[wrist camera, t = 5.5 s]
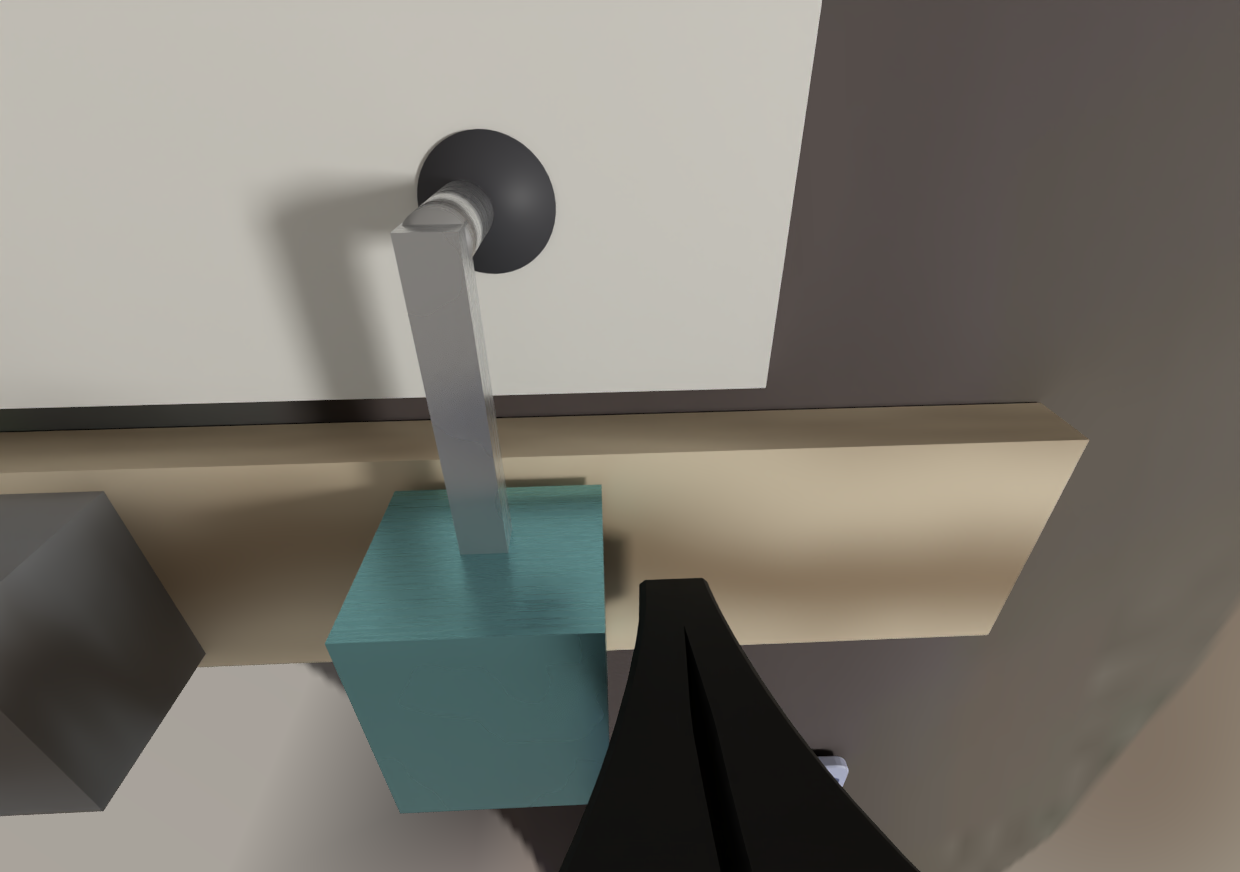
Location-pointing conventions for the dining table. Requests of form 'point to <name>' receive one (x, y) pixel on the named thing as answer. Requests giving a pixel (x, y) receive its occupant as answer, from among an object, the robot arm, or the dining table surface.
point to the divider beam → (532, 456)
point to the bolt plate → (390, 192)
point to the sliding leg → (475, 578)
